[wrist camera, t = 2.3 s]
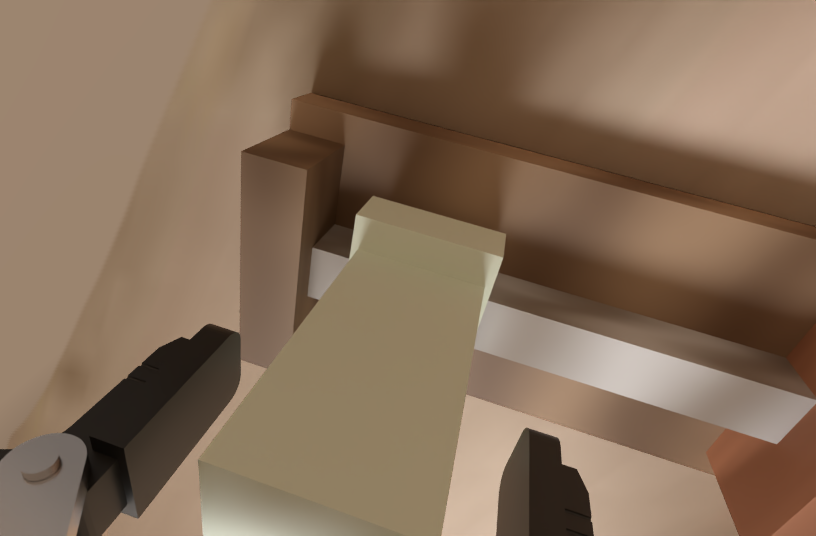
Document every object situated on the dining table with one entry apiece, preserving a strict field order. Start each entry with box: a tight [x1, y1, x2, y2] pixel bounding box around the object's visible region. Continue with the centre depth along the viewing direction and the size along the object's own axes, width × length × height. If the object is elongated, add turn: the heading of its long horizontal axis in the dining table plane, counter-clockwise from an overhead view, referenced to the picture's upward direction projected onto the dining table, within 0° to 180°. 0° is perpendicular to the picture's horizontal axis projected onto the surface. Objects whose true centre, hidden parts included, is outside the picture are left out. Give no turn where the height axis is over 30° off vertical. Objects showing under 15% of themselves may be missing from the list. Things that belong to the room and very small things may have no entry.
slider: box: [198, 196, 506, 536], centre depth 12 cm, size 4×7×10 cm, turn 168°
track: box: [240, 93, 816, 536], centre depth 15 cm, size 20×10×6 cm, turn 78°
